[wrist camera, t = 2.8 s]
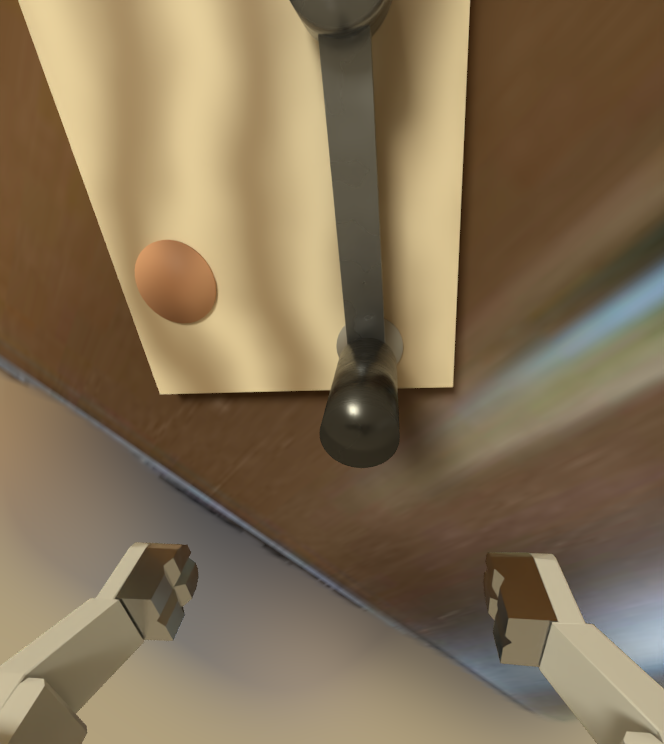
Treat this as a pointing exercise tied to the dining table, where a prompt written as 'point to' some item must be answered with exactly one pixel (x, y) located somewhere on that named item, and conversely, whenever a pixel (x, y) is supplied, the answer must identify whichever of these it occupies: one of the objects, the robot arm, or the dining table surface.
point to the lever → (355, 233)
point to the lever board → (259, 181)
